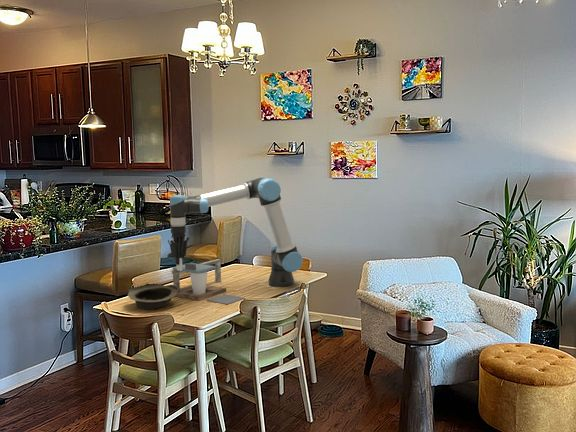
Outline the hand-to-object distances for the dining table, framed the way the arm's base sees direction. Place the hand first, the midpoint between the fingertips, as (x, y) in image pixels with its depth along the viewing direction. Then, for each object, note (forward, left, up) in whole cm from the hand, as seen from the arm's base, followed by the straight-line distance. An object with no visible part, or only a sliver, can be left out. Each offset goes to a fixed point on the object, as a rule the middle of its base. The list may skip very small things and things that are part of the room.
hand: (179, 270), depth 284 cm
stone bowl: (+5, +14, -17) cm, 22 cm away
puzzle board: (+3, -25, -16) cm, 30 cm away
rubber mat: (-19, -14, -16) cm, 29 cm away
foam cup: (0, -14, -16) cm, 22 cm away
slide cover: (+3, -14, -2) cm, 15 cm away
